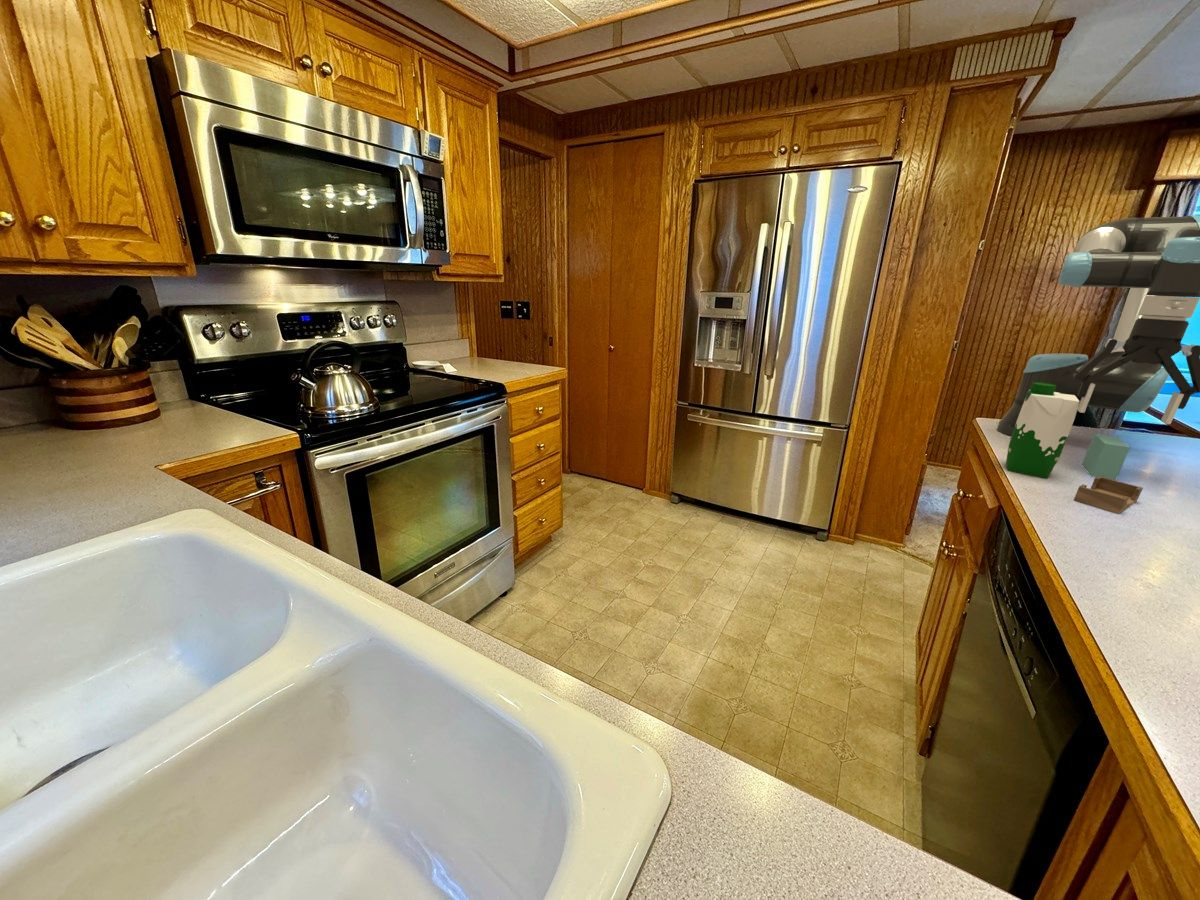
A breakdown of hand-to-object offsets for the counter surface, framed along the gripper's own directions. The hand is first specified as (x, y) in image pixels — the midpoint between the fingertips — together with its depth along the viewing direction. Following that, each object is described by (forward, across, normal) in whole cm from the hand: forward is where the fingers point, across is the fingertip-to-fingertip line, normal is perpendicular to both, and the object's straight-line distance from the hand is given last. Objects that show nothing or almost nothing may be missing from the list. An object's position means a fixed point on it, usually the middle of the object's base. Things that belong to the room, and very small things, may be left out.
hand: (1121, 417), depth 107 cm
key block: (+14, 0, 0) cm, 14 cm away
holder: (+14, -3, -20) cm, 25 cm away
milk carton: (+14, -14, -9) cm, 22 cm away
